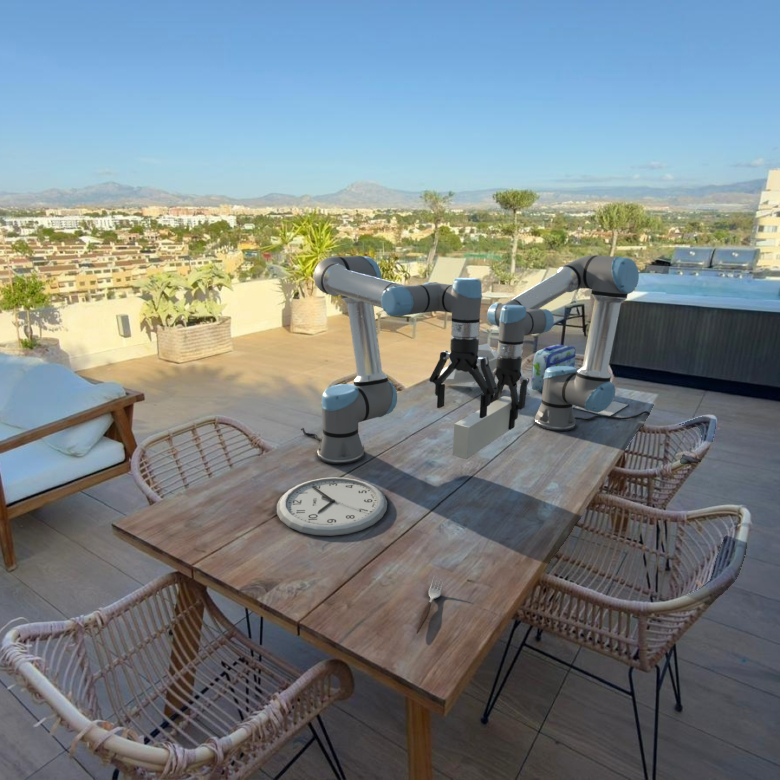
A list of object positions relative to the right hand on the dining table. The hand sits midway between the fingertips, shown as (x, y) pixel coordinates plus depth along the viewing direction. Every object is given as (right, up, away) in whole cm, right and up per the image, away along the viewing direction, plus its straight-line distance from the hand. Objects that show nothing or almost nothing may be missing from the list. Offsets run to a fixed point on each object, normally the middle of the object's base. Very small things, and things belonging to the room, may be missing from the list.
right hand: (503, 426), depth 168 cm
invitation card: (+55, +4, +58) cm, 80 cm away
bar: (-7, -3, -9) cm, 12 cm away
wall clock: (-52, -20, -25) cm, 61 cm away
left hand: (-17, +6, -22) cm, 28 cm away
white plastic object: (+5, +11, +75) cm, 76 cm away
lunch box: (+41, +12, +82) cm, 92 cm away
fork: (-29, -32, -63) cm, 77 cm away
